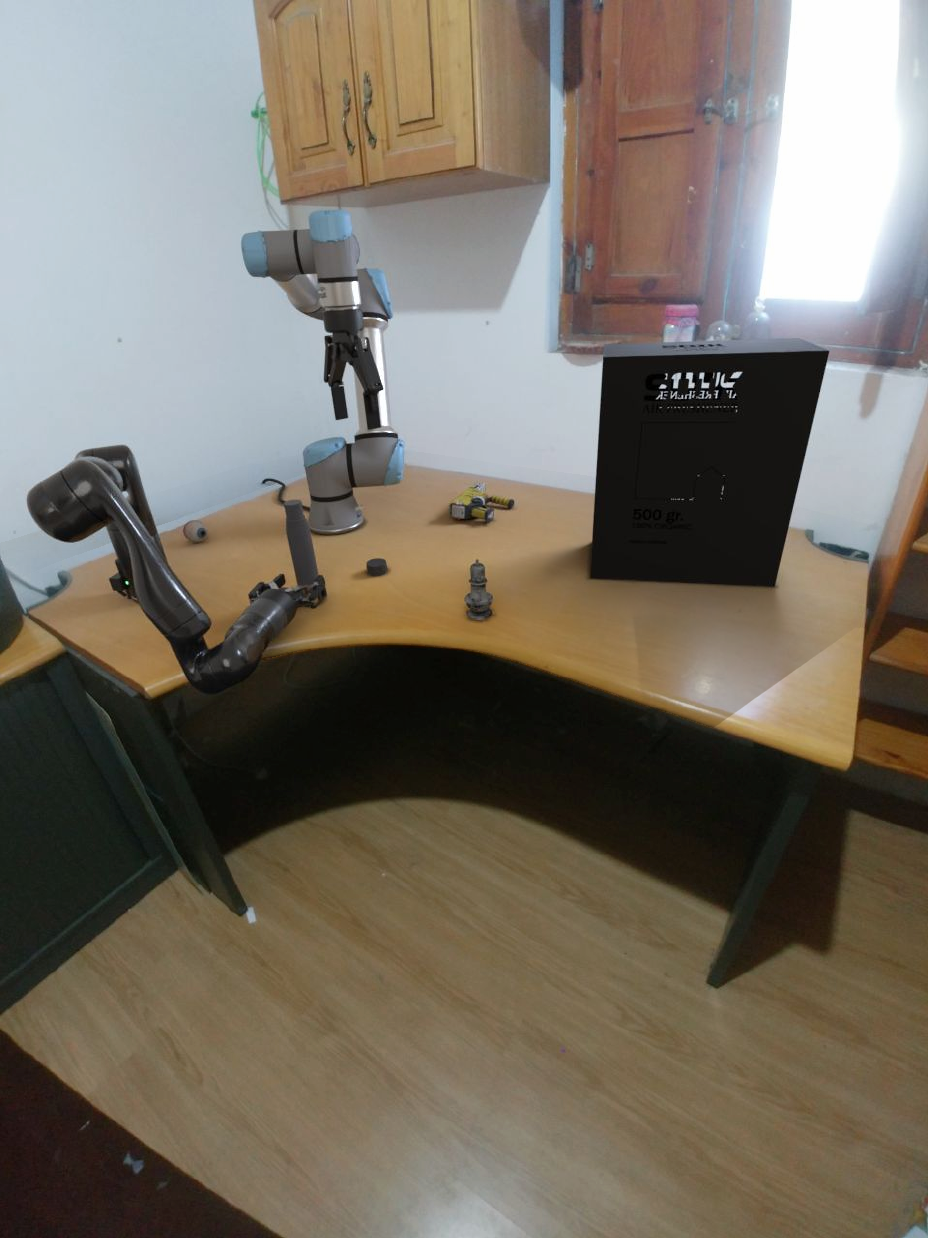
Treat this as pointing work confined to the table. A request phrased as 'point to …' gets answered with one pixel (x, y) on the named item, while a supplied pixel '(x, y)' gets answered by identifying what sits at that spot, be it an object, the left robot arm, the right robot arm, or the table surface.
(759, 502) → the cardboard box
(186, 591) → the left robot arm
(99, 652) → the table surface
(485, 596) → the grey chess piece
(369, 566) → the cap
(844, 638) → the table surface
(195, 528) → the eyeball
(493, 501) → the toy gun
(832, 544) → the table surface
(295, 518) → the bottle
